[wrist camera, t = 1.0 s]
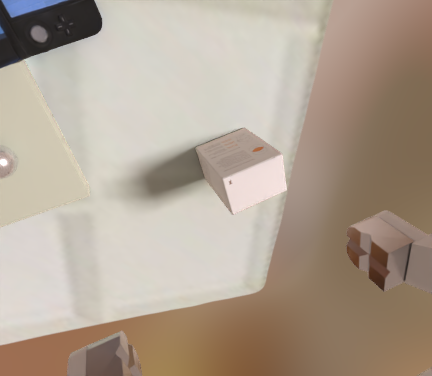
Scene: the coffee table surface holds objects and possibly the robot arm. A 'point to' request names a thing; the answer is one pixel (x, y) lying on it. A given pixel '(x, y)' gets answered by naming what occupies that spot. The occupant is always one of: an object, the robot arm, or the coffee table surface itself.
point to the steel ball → (7, 162)
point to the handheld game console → (43, 26)
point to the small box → (242, 169)
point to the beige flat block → (34, 151)
